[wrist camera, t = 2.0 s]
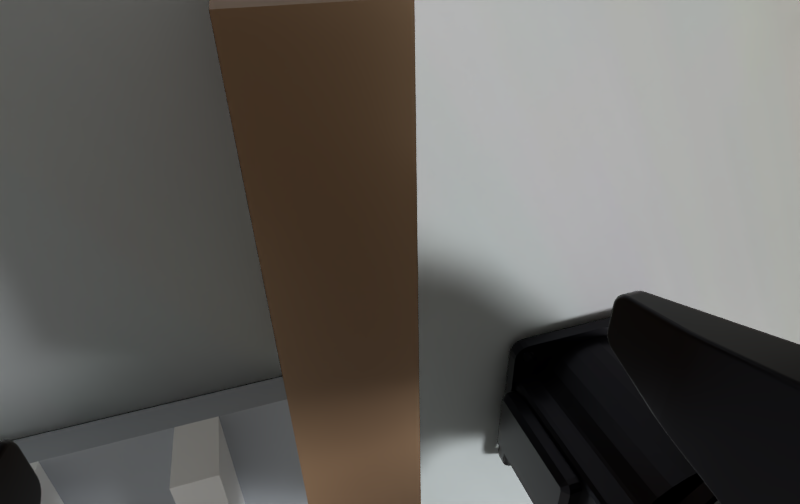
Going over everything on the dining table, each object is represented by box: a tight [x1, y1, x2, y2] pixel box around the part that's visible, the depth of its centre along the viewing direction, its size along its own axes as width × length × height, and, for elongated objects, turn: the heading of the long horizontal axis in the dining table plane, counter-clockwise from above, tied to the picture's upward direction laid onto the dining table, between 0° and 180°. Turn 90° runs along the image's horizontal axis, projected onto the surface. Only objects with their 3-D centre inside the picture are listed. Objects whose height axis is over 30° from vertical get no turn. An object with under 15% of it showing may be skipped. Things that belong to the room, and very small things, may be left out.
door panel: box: [209, 0, 421, 504], centre depth 10 cm, size 2×10×7 cm, turn 2°
